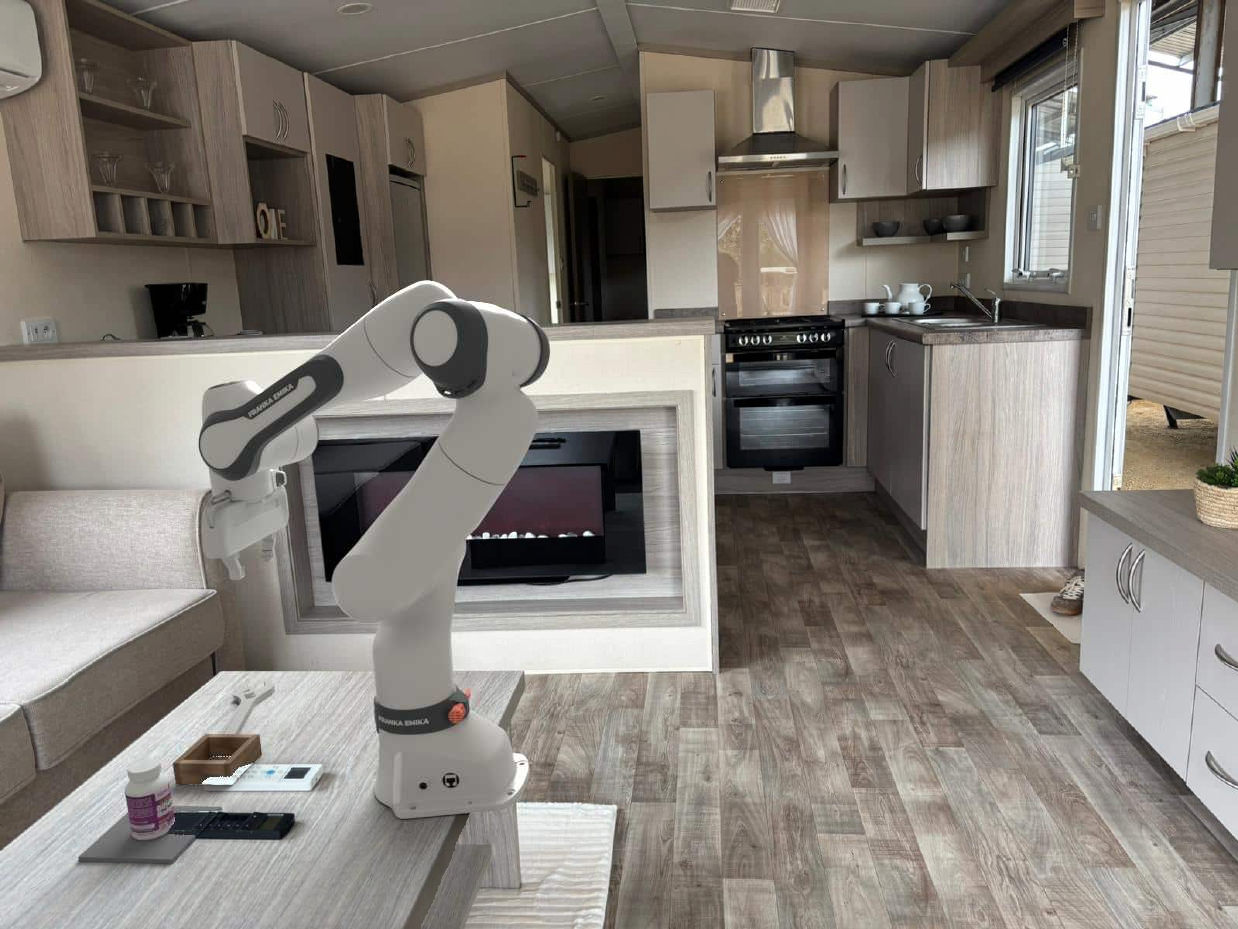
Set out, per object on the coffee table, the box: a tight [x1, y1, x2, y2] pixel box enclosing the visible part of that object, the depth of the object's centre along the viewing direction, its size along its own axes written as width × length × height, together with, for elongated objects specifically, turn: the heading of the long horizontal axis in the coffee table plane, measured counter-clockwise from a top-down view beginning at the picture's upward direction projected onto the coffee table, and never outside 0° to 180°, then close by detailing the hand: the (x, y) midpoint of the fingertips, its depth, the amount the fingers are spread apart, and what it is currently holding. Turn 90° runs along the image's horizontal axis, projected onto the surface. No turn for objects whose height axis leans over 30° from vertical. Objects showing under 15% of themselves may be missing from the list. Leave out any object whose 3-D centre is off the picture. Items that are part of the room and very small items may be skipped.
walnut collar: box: [172, 733, 263, 786], centre depth 139 cm, size 9×9×4 cm
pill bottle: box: [124, 757, 175, 840], centre depth 122 cm, size 5×5×10 cm
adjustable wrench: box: [220, 679, 276, 734], centre depth 157 cm, size 25×6×2 cm, turn 3°
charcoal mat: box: [77, 805, 223, 865], centre depth 123 cm, size 13×12×1 cm
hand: (253, 569), depth 144 cm, fingers open, 8 cm apart
